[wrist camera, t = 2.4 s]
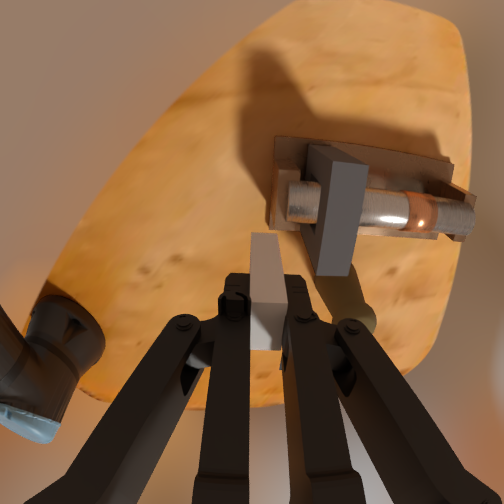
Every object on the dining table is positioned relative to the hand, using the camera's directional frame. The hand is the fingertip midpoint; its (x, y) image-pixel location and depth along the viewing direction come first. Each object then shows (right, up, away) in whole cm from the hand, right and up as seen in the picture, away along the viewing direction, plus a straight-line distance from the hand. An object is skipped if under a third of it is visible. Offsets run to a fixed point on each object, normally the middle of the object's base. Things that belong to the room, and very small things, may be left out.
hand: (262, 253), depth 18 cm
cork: (+11, -3, +22) cm, 25 cm away
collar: (+7, +7, +14) cm, 17 cm away
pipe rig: (+14, +7, +16) cm, 22 cm away
